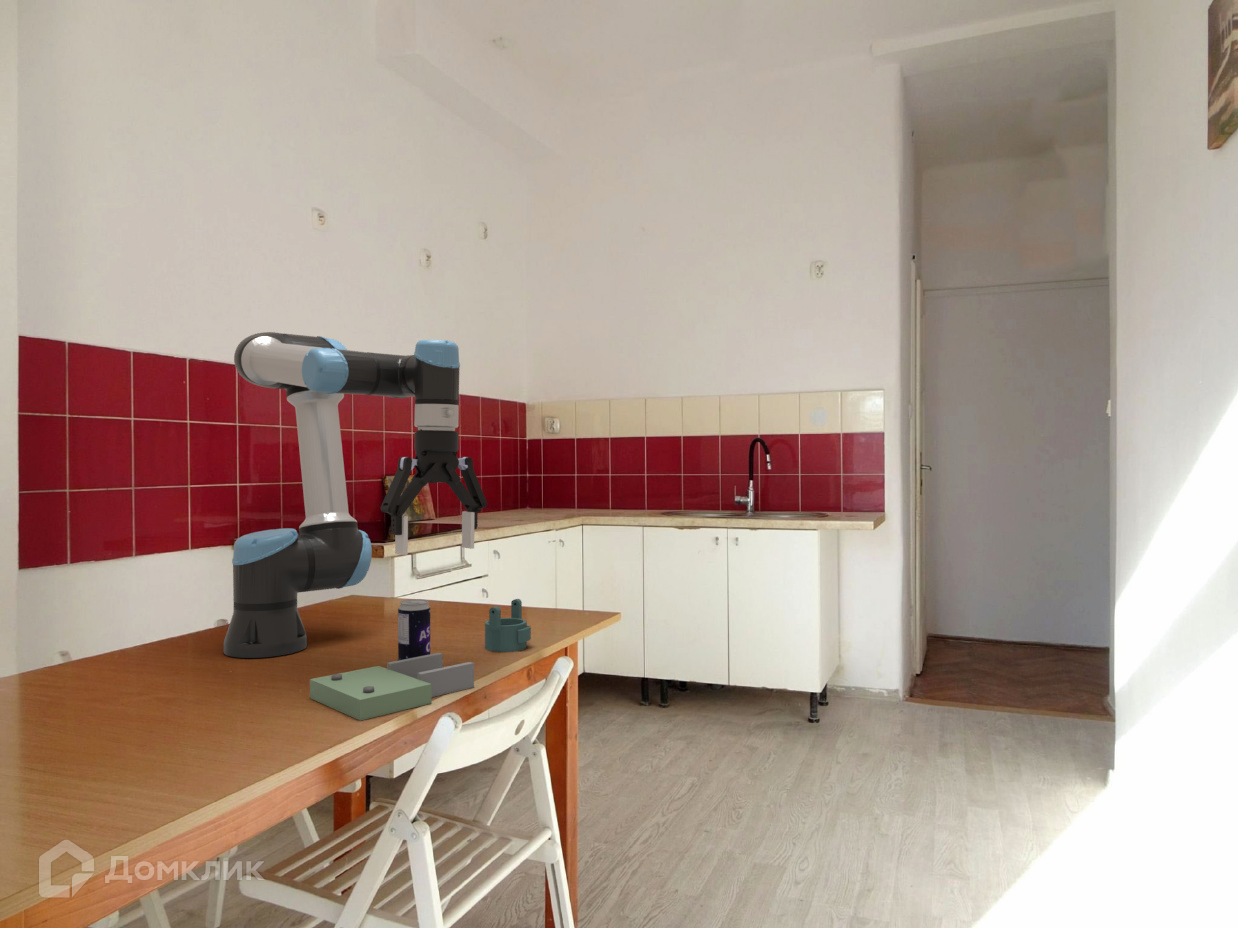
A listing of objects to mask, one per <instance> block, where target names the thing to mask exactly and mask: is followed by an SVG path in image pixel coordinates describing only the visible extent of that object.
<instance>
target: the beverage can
mask: <svg viewBox="0 0 1238 928" xmlns="http://www.w3.org/2000/svg"><path fill="white" fill-rule="evenodd" d="M399 603H400V604H399V607H398V610H397V661H399V660H404V659H409V658H414V657H419V656H425V655H430V654H431V607H430V604H429V600H428V599H421V598H417V599H415V598H414V599H406V600H402V601H400V602H399Z"/></svg>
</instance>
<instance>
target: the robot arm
mask: <svg viewBox="0 0 1238 928" xmlns="http://www.w3.org/2000/svg"><path fill="white" fill-rule="evenodd" d="M459 350H460V349H459V345H458V344H457V342H455V341H451V340H446V339H421V340H418V341H417V342H416V343H415V349H414V353H413V354H410V355H408V354H407V355H399V354H392V353H391V354H389V353H380V352H379V353H378V352H369V351H368V352H365V351H357V350H356V351H355V350H348V349H347V348H346V346H345V345H344V344H343V343H342V342H340V341H339V340H337V339H334V338H327V337H325V336H320V335H319V336H318V335H317V336H313V335H312V336H311V335H301V334H293V333H281V332H275V331H273V332H272V331H267V332H264V331H263V332H257V333H254V334H251V335H249V336H247V337H245V338H244V339H242V340H241V341H240V342H239V343H238V344H237V346H236V349H235V351H234V356H233V362H234V367H235V369H236V371H237V372H238V374H239V376H240V377H242V378H243V380H245V381H246V382H248V383H251V384H252V385H255V386H258V387H263V388H268V389H275V390H285V395H286V401H287V402H288V403H289V404H290V405H292V406H293V407H294V408H295V418H296V427H297V438H298V440H297V441H298V447H299V460H300V469H301V471H300V472H301V480H302V483H301V484H302V490H303V503H304V512H305V513H304V514H305V519H304V521H303V522H301V524H300V525H299V527H298V531H297V530H296V528H288V527H286V528H276V529H265V530H261V531H255V532H251V533H247V534H244V535H242V536H240V537H239V538H237V539H236V540H235V542H234V543H233V544H234V545H233V557H232V559H231V560H232V561H231V563H232V571H233V572H232V578H233V579H232V581H233V582H232V583H233V584H232V587H233V591H232V592H233V597H232V598H233V599H232V601H233V612H232V615H231V619H230V622H229V625H228V628H227V631H226V633H225V637H224V640H223V654H224V655H225V656H227V657H232V658H240V659H259V658H262V659H263V658H272V657H279V656H285V655H291V654H294V653H297V652H300V651H303V650H305V649H306V648H307V647H308V642H307V641H308V637H307V633H306V629H305V627H304V624H303V621H302V618H301V616H300V612H299V610H298V593H307V592H315V591H323V590H324V591H325V590H331V589H334V590H335V589H336V590H337V589H338V590H340V589H343V588H346V587H347V588H348V587H353V586H356V585H358V584H360V583H361V582H362V581H363V580H364V579H365V577H366V576H367V574H368V572H369V569H370V567H371V562H372V557H373V556H372V555H373V554H372V553H373V552H372V551H373V550H372V543H371V539H370V538H369V535H368V533H366V531H363V530H361V529H359V528H358V527H359V526H358V521H357V520H356V518H354V517H353V516H351V514H350V513H349V504H348V503H349V502H348V496H347V495H348V493H347V482H346V475H345V464H344V455H343V452H344V451H343V443H342V434H341V424H340V415H339V406H338V405H339V404H340V402H341V401H342V400H343V399H344V398H345V395H364V396H375V397H378V396H379V397H388V398H393V399H407V398H412V397H413V398H414V423H413V424H414V427H415V428H417V430H415V432H414V452H415V457H414V458H412V457H409V456H400V457H399V458H398V460H397V461H398V462H397V467H396V468H397V469H396V471H395V474H394V477H393V479H392V481H391V483H390V485H389V487H388V489H387V492H386V494H385V496H384V499H383V500H382V503H381V505H380V511H381V512H382V513H387V514H388V515H390V517H391V521H390V523H391V526H390V527H391V530H390V531H391V534H392V536H393V535H394V536H395V537H394V540H395V543H394V544H395V545H394V547H395V548H394V549H395V551H394V553H395V554H396V555H399V556H400V555H402V556H407V555H409V550H408V548H409V542H408V541H409V540H408V539H409V528H408V527H409V516H408V515H404V514H405V513H406V511H407V510H408V508H409V507H411V505H412V503H413V501H414V500H415V499H416V498H417V496H418V495H419V493H420V492H421V491H422V489H423V488H424V487H425V486H427V485H428V484H437V483H441V484H443V483H444V484H447V485H448V486H449V487H450V489H451V490H452V492H453V493H454V495H455V496H456V498H457V499H458V500H459V502H460V503H461V505H462V506H463V507H464V508H465V510H464V511H462V512H461V547H462V548H463V549H470V550H471V549H475V530H477V528H478V513H479V512H481V511H483V510H482V509H483V508H487V506H488V501H487V499H486V497H485V495H484V492H483V490H482V487H481V484H480V482H479V480H478V477H477V475H476V472H475V470H474V460H473V458H472V457H470V456H461V457H458V455H457V454H458V451H459V439H460V438H459V435H460V433H458V431H456V429H457V428H458V427H459V421H460V420H459V416H460V415H459V412H460V411H459V408H460V407H459V403H460V402H459V401H460V368H461V363H460V356H459ZM413 469H415V470H416V472H415V474H414V475H413V477H412V478H411V479H410V480H411V481H410V482H409V484H408V485H407V487H406V484H407V482H408V480H409V478H410V475H411V473H412V470H413ZM457 469H459V470H460V471H459V472H460V474H461V476H462V478H461V477H460V475H459V474H458V473H457V472H456V471H457ZM462 479H463V481H464V484H463V482H462ZM465 485H466V486H465ZM405 487H406V488H405Z"/></svg>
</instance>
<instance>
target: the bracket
mask: <svg viewBox="0 0 1238 928" xmlns="http://www.w3.org/2000/svg"><path fill="white" fill-rule="evenodd" d="M510 602H511V603H510V609H511V610H510V612H511V613H510V617H501V615H502V614H501V611H502V609H501V607H500V606H496V605H495V606H493V607H491V608H489V611H488V612H489V614H488V615H489V616H488V620H485V622H484V648H485V650H486V651H489V652H496V653H497V652H498V653H511V652H512V653H513V652H519V651H523V650H525V649H527V646H528V644H527V643H528V642H529V641H531V639H532V636H531V634H532V633H531V632H532V630H531V629H532V626H531V625H527V624H528V623H527V620H526V619H523V617H522V613H523V612H522V608H523V607H522V603H523V602H522V599H520V598H515V599H513V600H511V601H510Z"/></svg>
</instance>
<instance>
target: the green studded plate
mask: <svg viewBox="0 0 1238 928" xmlns="http://www.w3.org/2000/svg"><path fill="white" fill-rule="evenodd" d="M443 658H444V657H443V653H440V652H435V653H430V655H425V656H419V657H414V658H409V659H404V660H399V661H398V660H395V661H390V662H387V663H386V667H384V666H380V665H377V666H376V665H375V666H371V667H366V668H361V669H360V668H359V669H356V670H355V669H354V670H351V671H345V672H340V673H334V674H330V675H324V676H320V677H314V678H311V679H310V678H309V699H311V700H314V701H315V702H318V703H320V704H322V705H324V706H327V707H329V708H331V709H334V710H336V711H337V712H340V713H342V714H345V715H346V716H349V717H351V718H354V719H356V720H358V721H360V722H361V721H363V720H364V721H365V720H368V719H371V718H376V717H382V716H384V715H389V714H393V713H397V712H402V711H405V710H409V709H413V708H417V707H423V706H426V705H430V704H432V699H433V698H434V697H435V698H436V697H438V696H443V695H447V694H450V693H455V692H459V691H464V690H467V689H473V688H475V663H474V662H473V661H472V662H471V661H467V662H462V663H458V664H454V665H448V666H444V667H443Z"/></svg>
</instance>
